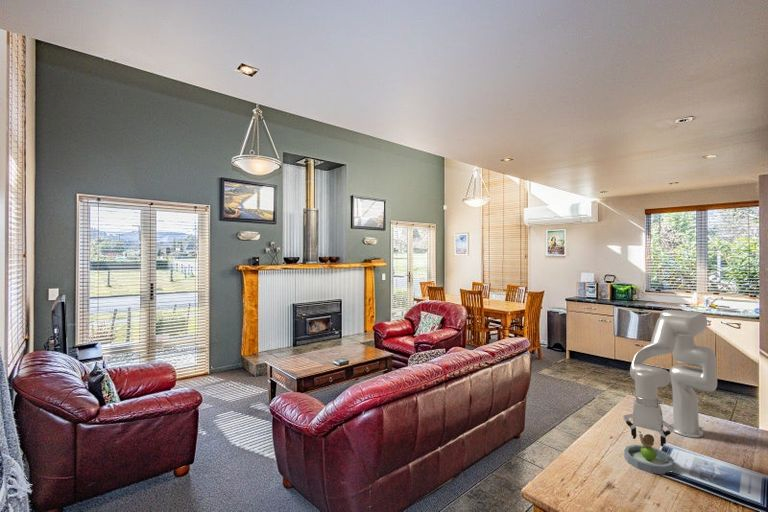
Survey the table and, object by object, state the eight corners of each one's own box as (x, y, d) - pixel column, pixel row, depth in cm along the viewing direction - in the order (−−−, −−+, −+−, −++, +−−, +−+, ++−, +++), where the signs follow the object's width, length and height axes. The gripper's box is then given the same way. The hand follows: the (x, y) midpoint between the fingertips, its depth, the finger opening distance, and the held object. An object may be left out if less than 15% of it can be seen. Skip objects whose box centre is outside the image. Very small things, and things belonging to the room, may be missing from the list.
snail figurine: (635, 456, 159) (634, 428, 159) (649, 455, 159) (648, 427, 159) (645, 463, 153) (644, 434, 153) (660, 462, 154) (658, 433, 154)
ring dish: (630, 447, 168) (629, 441, 168) (676, 461, 156) (676, 454, 156) (620, 463, 156) (620, 456, 156) (669, 479, 144) (669, 471, 144)
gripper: (674, 403, 152) (675, 444, 153) (624, 393, 165) (626, 431, 165) (671, 409, 147) (672, 452, 147) (620, 398, 159) (622, 438, 160)
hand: (648, 441), depth 156 cm, fingers open, 9 cm apart
